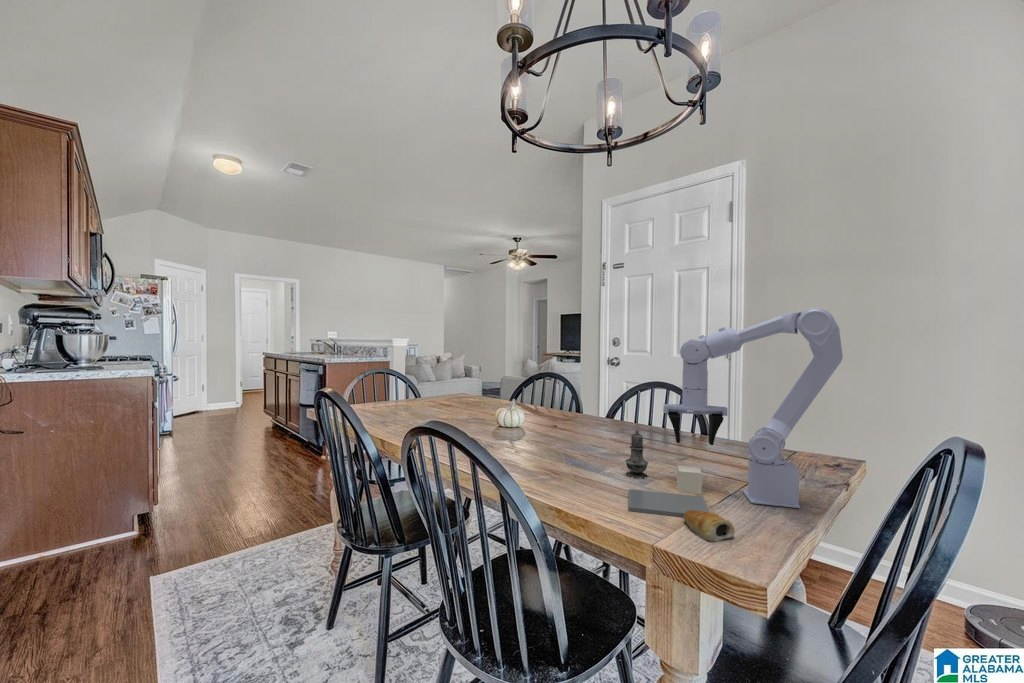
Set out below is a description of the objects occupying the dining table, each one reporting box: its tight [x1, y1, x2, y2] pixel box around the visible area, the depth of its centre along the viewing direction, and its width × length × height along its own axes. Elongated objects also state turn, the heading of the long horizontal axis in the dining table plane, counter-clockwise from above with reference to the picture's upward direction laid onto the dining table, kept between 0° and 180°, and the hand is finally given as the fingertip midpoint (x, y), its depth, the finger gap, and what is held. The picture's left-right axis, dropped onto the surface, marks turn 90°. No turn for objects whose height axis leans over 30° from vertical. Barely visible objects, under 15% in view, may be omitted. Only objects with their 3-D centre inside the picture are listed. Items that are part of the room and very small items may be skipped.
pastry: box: [682, 510, 736, 542], centre depth 81 cm, size 9×7×4 cm
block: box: [676, 464, 703, 495], centre depth 102 cm, size 5×5×5 cm
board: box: [627, 488, 711, 518], centre depth 92 cm, size 16×11×1 cm
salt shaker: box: [624, 429, 649, 479], centre depth 112 cm, size 6×6×12 cm
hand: (694, 443), depth 105 cm, fingers open, 7 cm apart
